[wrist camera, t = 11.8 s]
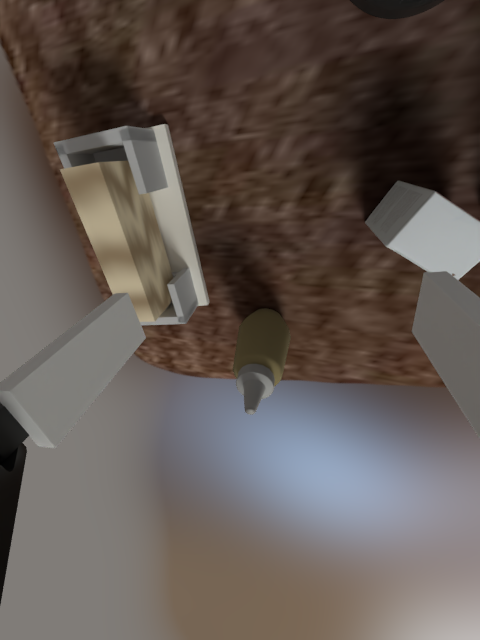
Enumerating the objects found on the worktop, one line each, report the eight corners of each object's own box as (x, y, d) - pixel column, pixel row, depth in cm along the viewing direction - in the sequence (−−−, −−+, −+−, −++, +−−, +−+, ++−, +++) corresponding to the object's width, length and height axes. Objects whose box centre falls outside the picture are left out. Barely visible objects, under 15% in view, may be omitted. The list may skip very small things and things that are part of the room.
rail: (107, 165, 33) (59, 169, 27) (139, 159, 32) (98, 162, 26) (151, 295, 43) (124, 322, 36) (178, 294, 42) (155, 321, 35)
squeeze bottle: (233, 310, 44) (201, 392, 29) (279, 294, 41) (269, 376, 26) (254, 347, 48) (234, 438, 33) (298, 335, 45) (298, 429, 30)
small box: (451, 214, 32) (510, 239, 23) (413, 254, 35) (451, 289, 26) (397, 178, 31) (436, 188, 22) (362, 221, 34) (385, 246, 25)
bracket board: (83, 143, 35) (40, 142, 29) (167, 124, 32) (139, 118, 26) (144, 305, 47) (122, 327, 41) (209, 302, 44) (196, 325, 38)
